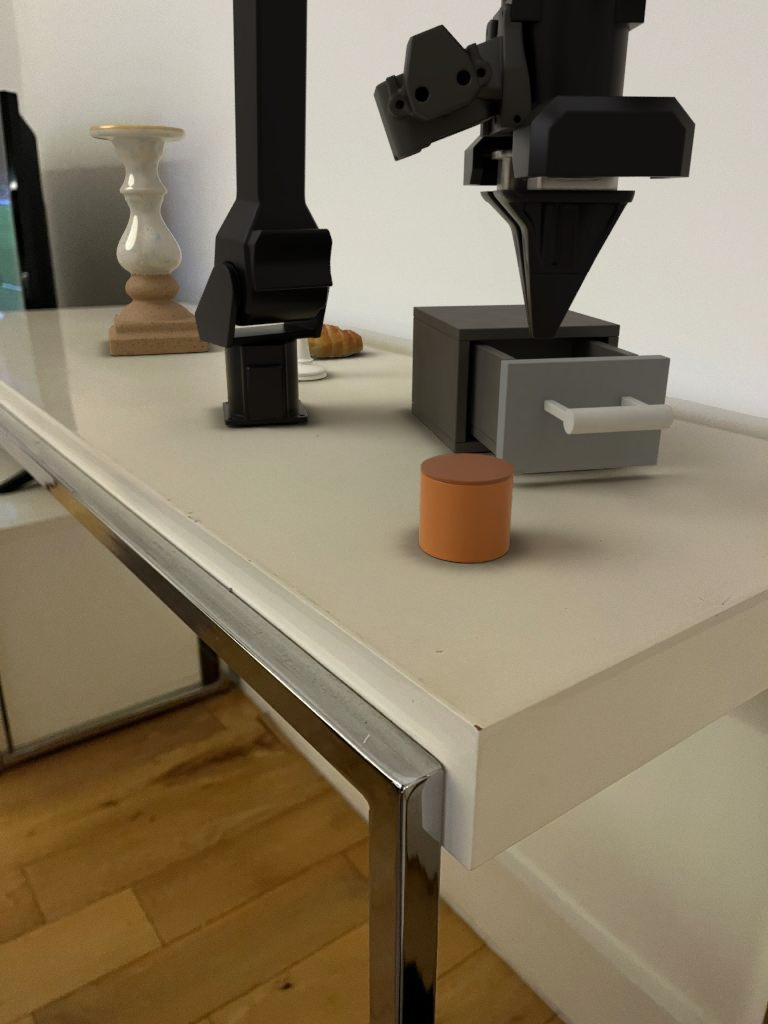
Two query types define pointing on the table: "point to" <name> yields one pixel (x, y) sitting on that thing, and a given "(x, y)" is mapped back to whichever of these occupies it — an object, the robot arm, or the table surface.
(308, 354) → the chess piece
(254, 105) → the robot arm
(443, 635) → the table surface
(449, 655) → the table surface
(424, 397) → the small drawer cabinet
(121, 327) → the candle holder
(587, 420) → the drawer
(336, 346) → the pastry
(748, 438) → the table surface
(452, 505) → the cylinder
